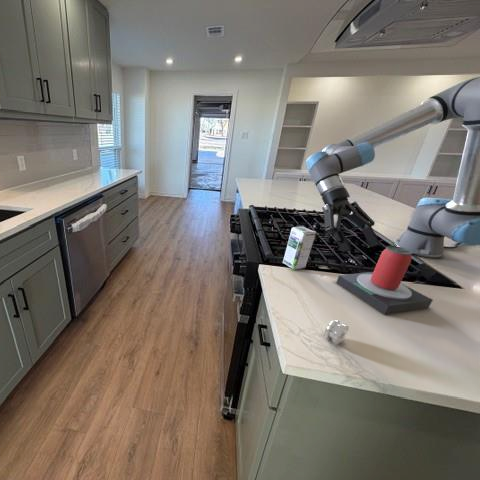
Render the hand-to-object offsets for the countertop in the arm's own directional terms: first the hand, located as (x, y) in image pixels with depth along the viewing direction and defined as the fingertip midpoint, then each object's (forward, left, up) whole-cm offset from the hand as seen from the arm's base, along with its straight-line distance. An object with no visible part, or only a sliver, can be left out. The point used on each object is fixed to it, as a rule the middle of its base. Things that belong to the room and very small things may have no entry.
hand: (361, 248), depth 82 cm
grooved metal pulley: (+29, +22, -12) cm, 38 cm away
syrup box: (+13, -12, -12) cm, 21 cm away
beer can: (-1, +9, -8) cm, 12 cm away
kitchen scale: (-1, +9, -12) cm, 15 cm away
